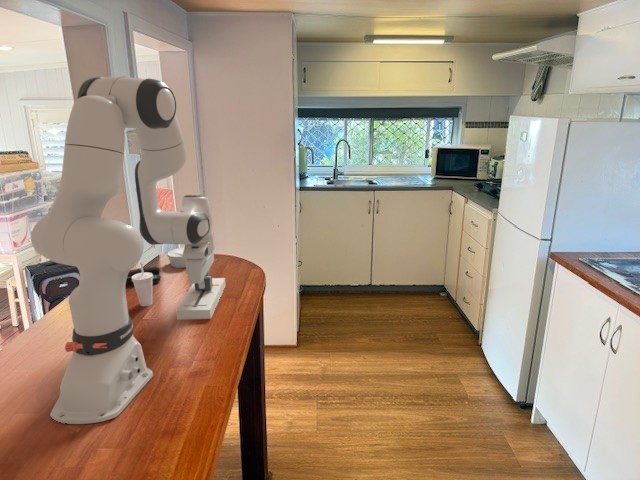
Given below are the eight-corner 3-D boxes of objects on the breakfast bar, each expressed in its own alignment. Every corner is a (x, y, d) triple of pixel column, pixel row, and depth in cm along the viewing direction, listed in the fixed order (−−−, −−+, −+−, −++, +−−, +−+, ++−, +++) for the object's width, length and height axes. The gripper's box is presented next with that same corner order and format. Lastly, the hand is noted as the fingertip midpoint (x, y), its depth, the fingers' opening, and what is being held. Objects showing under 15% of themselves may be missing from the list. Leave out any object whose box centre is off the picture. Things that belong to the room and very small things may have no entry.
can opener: (162, 277, 159) (160, 263, 158) (160, 284, 153) (158, 269, 151) (110, 282, 155) (107, 268, 153) (106, 290, 149) (104, 275, 147)
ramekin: (165, 269, 166) (163, 257, 164) (172, 259, 177) (171, 247, 175) (195, 268, 167) (193, 255, 165) (200, 258, 177) (199, 246, 176)
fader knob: (210, 290, 139) (209, 278, 138) (195, 290, 139) (193, 278, 138) (212, 286, 142) (211, 274, 141) (197, 286, 142) (196, 275, 140)
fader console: (210, 318, 128) (210, 309, 127) (177, 319, 128) (175, 310, 127) (225, 285, 151) (225, 277, 150) (197, 286, 150) (196, 278, 150)
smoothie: (160, 299, 141) (155, 259, 136) (151, 308, 134) (145, 267, 130) (141, 299, 141) (135, 259, 137) (131, 307, 135) (125, 266, 131)
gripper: (198, 235, 146) (201, 273, 150) (180, 255, 126) (185, 298, 130) (216, 234, 146) (220, 272, 150) (202, 255, 126) (206, 298, 130)
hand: (204, 285), depth 140 cm, fingers closed on fader knob, 3 cm apart
